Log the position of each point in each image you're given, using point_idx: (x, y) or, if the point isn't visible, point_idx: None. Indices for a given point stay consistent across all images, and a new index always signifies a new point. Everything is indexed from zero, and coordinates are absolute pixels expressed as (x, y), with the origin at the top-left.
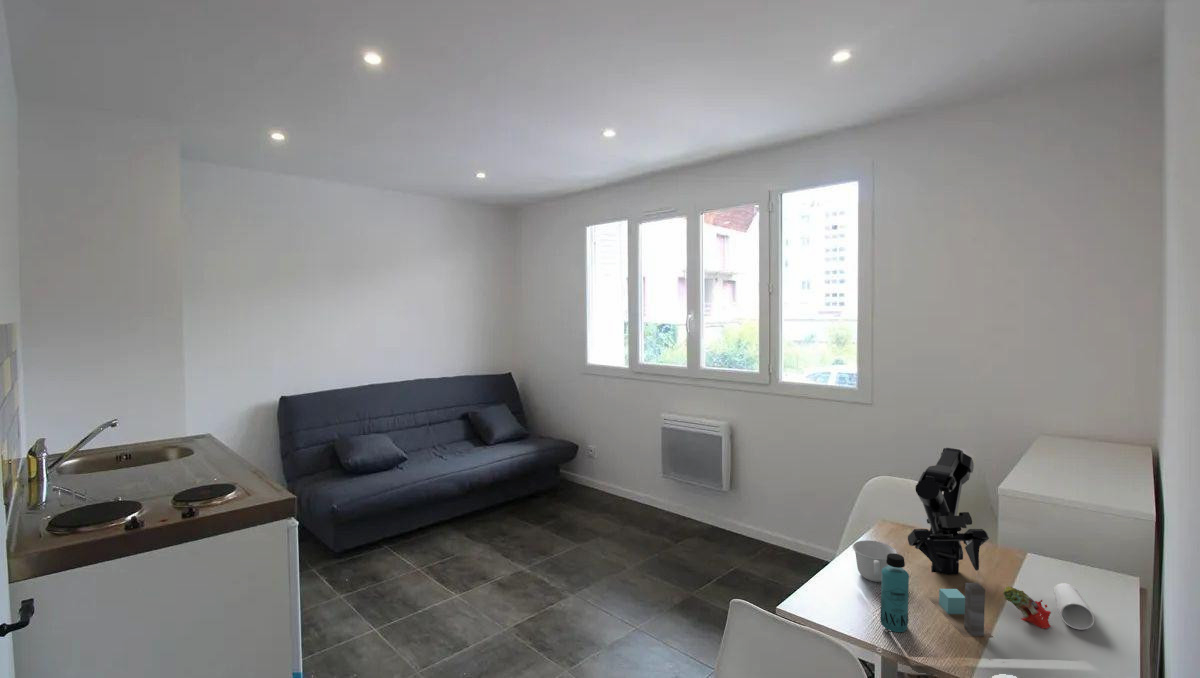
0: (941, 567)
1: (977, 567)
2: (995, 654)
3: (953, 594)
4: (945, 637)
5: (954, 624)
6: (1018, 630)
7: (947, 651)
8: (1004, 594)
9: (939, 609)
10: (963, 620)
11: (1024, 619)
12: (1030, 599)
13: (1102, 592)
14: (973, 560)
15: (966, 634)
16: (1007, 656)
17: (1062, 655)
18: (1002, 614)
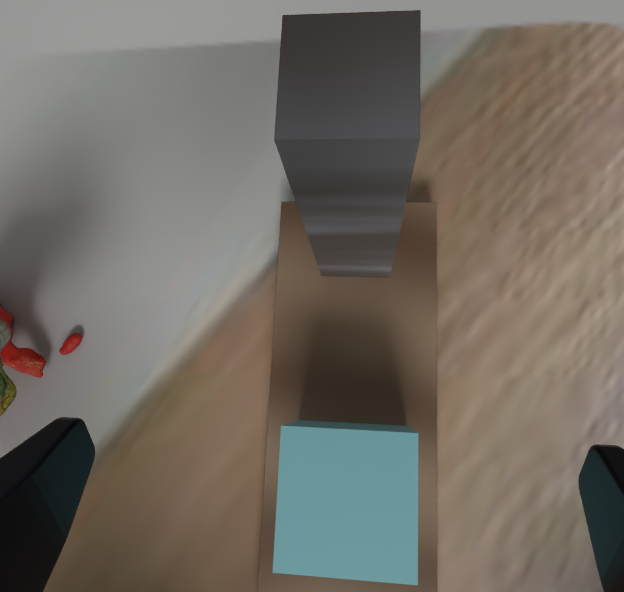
0: (604, 459)
1: (59, 432)
2: None
3: (349, 480)
4: (509, 246)
5: (425, 313)
6: (97, 309)
7: (557, 135)
8: (2, 383)
9: (434, 479)
10: (350, 352)
11: (15, 348)
12: None
13: None
14: (2, 562)
15: (410, 221)
16: None
17: (54, 129)
18: None
